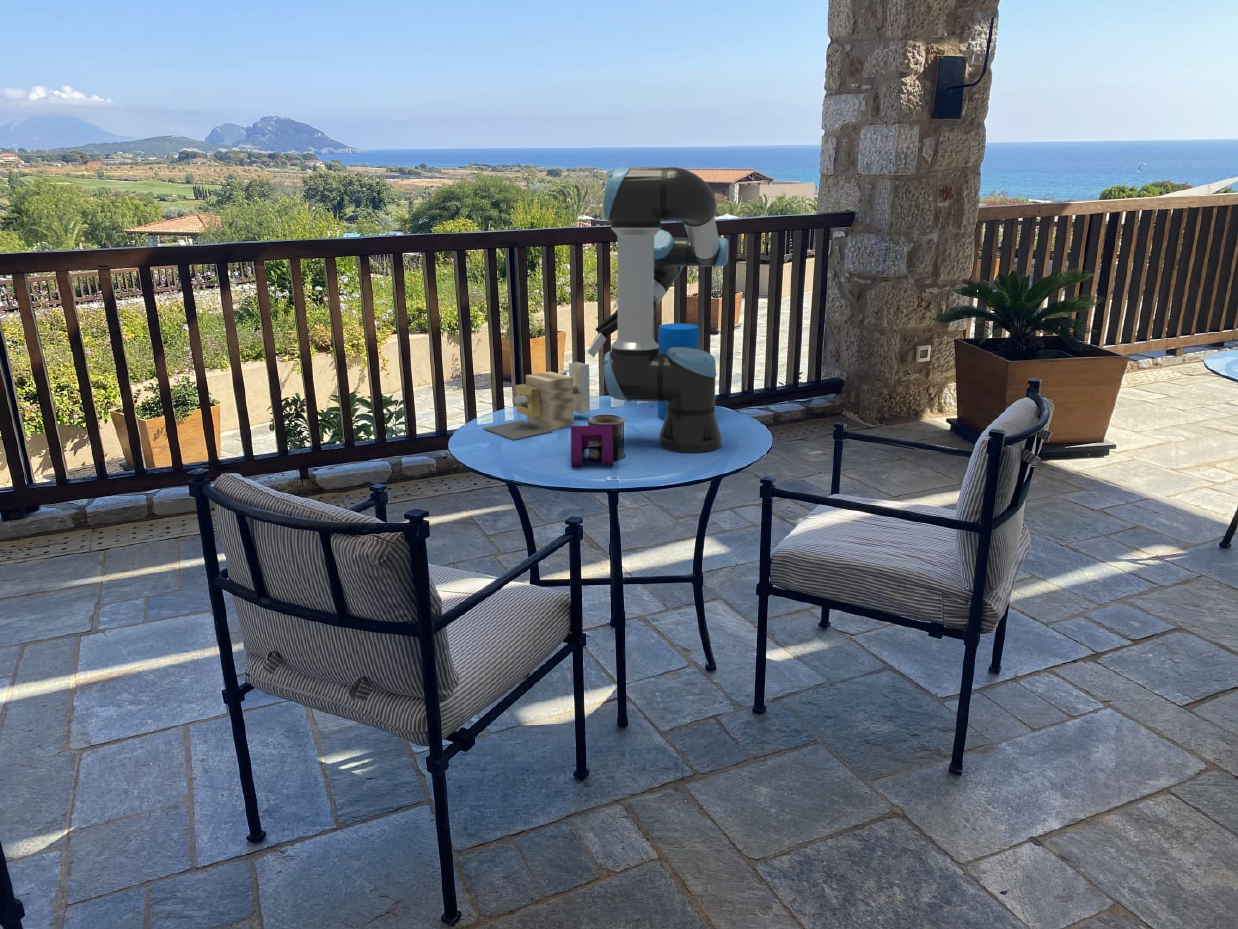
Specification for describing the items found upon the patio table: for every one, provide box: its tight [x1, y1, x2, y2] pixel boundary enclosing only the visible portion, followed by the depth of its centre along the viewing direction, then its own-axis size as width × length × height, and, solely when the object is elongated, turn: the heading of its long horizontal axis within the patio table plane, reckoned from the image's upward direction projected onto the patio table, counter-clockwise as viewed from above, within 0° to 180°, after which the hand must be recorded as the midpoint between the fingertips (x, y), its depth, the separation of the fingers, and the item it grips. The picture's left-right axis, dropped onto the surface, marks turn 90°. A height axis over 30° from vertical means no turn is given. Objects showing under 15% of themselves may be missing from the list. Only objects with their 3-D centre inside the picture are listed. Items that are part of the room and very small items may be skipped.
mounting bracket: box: [570, 424, 614, 467], centre depth 205 cm, size 10×8×18 cm
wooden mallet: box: [511, 361, 591, 414], centre depth 233 cm, size 22×5×13 cm, turn 130°
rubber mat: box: [483, 419, 553, 442], centre depth 229 cm, size 12×14×1 cm
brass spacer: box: [515, 383, 540, 417], centre depth 228 cm, size 2×7×7 cm, turn 40°
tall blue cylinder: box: [657, 323, 700, 421], centre depth 238 cm, size 11×11×25 cm
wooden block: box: [525, 371, 575, 431], centre depth 233 cm, size 8×10×13 cm
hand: (605, 357), depth 243 cm, fingers open, 13 cm apart
